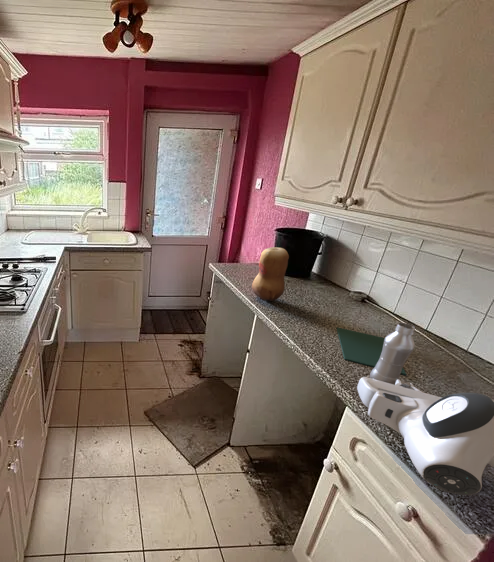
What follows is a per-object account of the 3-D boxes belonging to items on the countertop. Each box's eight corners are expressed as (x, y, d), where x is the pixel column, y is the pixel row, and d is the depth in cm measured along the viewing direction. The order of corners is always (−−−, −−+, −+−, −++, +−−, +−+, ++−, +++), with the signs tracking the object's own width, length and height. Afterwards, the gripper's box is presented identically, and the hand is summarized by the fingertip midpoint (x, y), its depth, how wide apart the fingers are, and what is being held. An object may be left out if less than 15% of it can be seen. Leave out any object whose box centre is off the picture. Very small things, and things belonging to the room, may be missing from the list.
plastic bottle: (362, 382, 92) (386, 322, 85) (374, 375, 95) (398, 318, 88) (388, 396, 87) (415, 334, 80) (399, 389, 90) (427, 328, 83)
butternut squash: (244, 294, 151) (254, 244, 142) (269, 293, 154) (280, 243, 145) (261, 306, 139) (273, 252, 129) (288, 305, 141) (301, 252, 132)
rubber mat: (406, 375, 96) (406, 374, 96) (344, 359, 103) (344, 358, 102) (387, 339, 116) (387, 338, 115) (336, 328, 122) (336, 327, 122)
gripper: (495, 428, 62) (464, 387, 73) (369, 392, 70) (358, 360, 82) (480, 451, 64) (452, 408, 75) (360, 413, 73) (351, 380, 84)
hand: (403, 383), depth 79 cm, fingers closed
